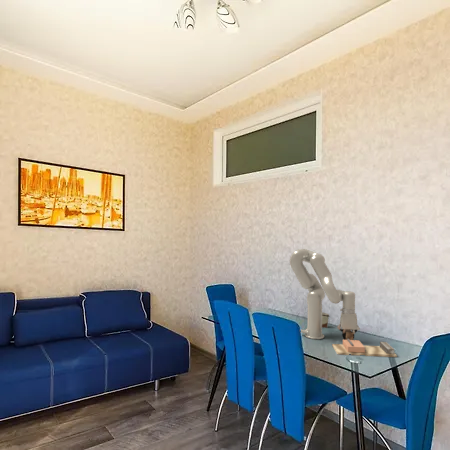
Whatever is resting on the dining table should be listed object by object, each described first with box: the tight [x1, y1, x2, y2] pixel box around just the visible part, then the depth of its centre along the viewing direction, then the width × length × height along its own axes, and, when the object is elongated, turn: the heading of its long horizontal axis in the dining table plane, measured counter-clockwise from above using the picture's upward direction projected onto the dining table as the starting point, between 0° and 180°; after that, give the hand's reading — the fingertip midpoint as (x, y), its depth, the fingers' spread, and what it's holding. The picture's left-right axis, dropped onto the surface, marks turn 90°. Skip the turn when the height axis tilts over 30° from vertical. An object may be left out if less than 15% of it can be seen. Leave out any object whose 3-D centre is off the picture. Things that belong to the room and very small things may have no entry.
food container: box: [322, 311, 330, 329], centre depth 253 cm, size 12×6×10 cm, turn 84°
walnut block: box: [342, 329, 354, 341], centre depth 220 cm, size 4×8×7 cm, turn 175°
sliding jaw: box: [342, 339, 365, 353], centre depth 205 cm, size 10×12×4 cm
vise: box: [331, 341, 398, 358], centre depth 204 cm, size 33×14×4 cm, turn 85°
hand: (348, 339), depth 221 cm, fingers open, 4 cm apart
